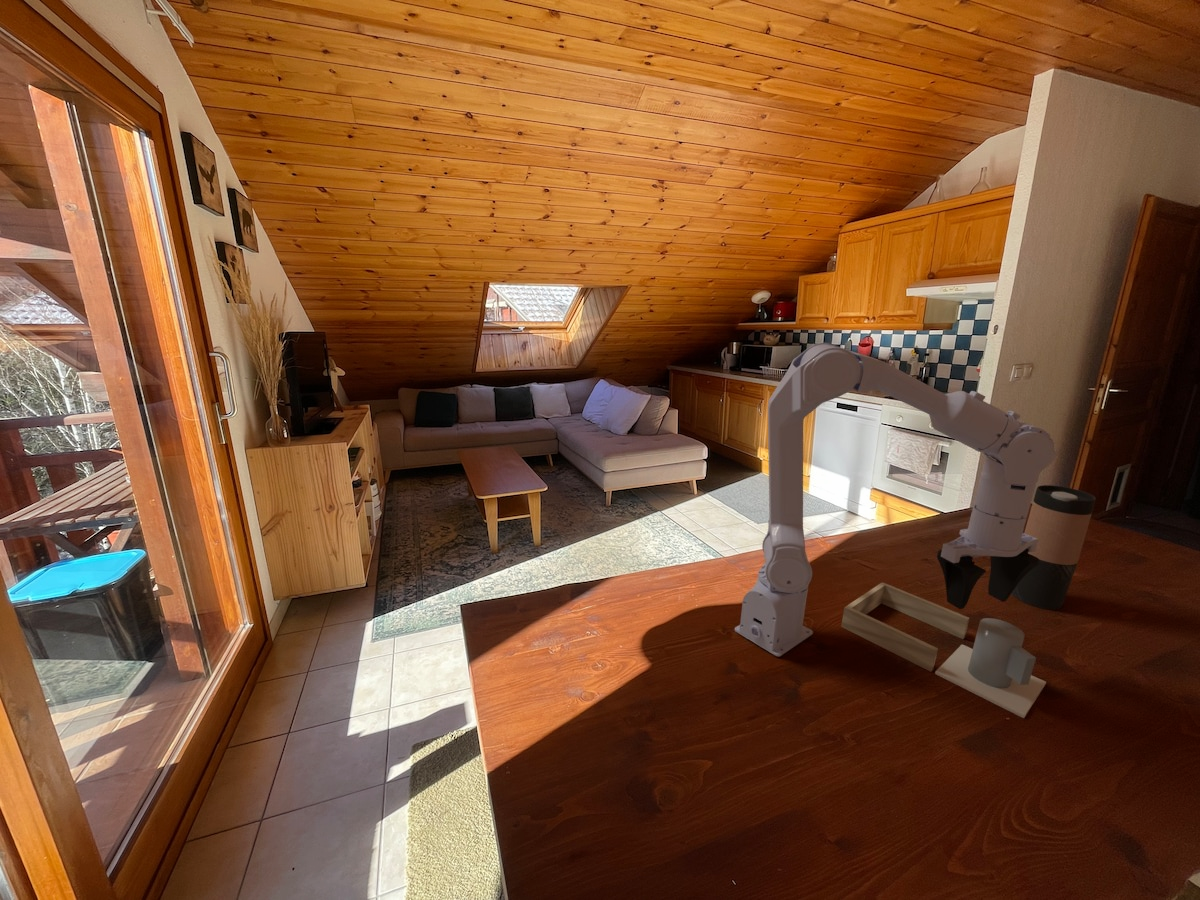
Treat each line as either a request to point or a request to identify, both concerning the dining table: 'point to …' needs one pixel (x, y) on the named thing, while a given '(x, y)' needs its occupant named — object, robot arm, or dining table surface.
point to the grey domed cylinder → (1000, 655)
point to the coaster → (1009, 698)
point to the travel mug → (1054, 544)
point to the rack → (895, 638)
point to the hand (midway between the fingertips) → (976, 601)
